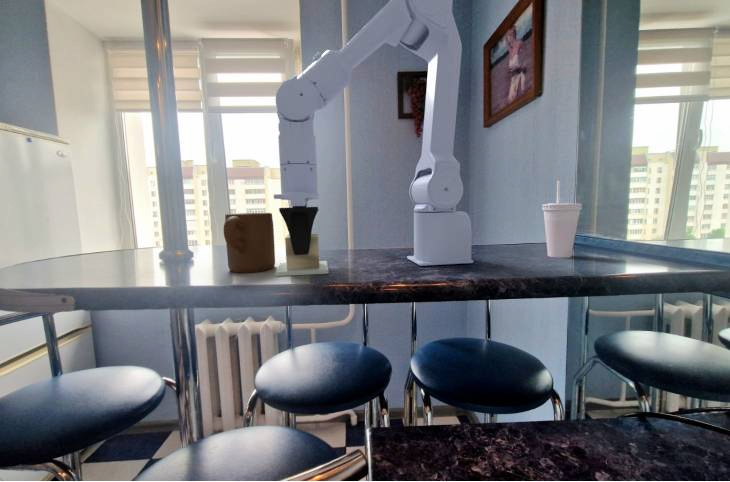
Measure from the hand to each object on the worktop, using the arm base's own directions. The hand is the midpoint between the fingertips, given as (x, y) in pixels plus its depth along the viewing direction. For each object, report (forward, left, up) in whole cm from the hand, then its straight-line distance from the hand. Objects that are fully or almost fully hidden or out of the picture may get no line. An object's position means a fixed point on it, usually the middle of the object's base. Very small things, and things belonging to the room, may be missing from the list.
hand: (302, 251), depth 53 cm
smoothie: (-47, 0, -3) cm, 47 cm away
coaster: (0, 0, -3) cm, 3 cm away
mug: (+9, -1, -3) cm, 10 cm away
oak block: (0, 0, -2) cm, 3 cm away
